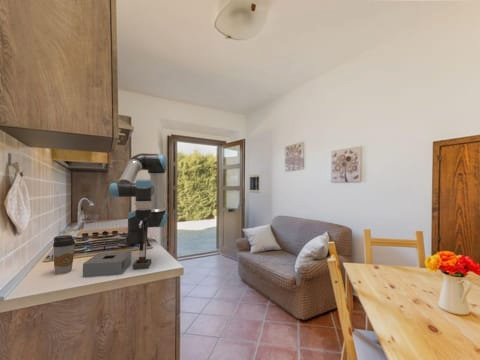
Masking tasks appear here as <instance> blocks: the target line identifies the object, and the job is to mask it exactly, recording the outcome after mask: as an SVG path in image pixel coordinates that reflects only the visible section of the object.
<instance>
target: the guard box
mask: <svg viewBox="0 0 480 360" xmlns="http://www.w3.org/2000/svg"><path fill="white" fill-rule="evenodd" d="M131 264H132V251H114V252H98V253H96V254H95V255H93V256H92V257H90V258H89V259H88V260H86V261H85V262H84V263H82V278H90V277H91V278H93V277H104V276H106V277H107V276H121V275H123V274H124V272H125V271H126V270H127V269H128V268H129V266H130V265H131Z"/></svg>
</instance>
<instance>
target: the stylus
mask: <svg viewBox="0 0 480 360" xmlns="http://www.w3.org/2000/svg"><path fill="white" fill-rule="evenodd" d="M144 243H145V256H144V257H139V256H138V260H139V263H146V259H147V258H146V257H147V242H146V232H145V239H144Z"/></svg>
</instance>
